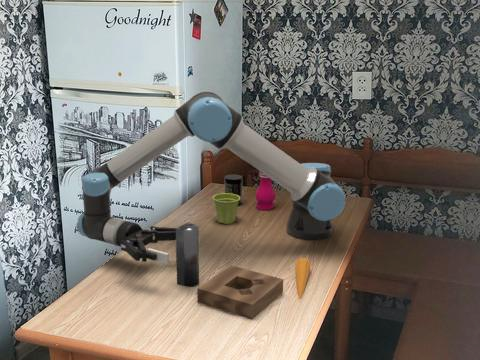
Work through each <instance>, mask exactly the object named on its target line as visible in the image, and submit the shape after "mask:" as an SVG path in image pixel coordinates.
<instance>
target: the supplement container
mask: <svg viewBox="0 0 480 360" xmlns="http://www.w3.org/2000/svg"><path fill="white" fill-rule="evenodd" d="M223 178H224V192H223V193H230V194H236V195H238V196H240V200H239V203H238V206H241V205H242V204H243V175H239V174H233V173H232V174H226V175H225V176H224V177H223Z"/></svg>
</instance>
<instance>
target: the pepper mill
mask: <svg viewBox="0 0 480 360" xmlns="http://www.w3.org/2000/svg"><path fill="white" fill-rule="evenodd" d="M258 176H259V178H260V181H259V182H260V183H259V186H258V188H257V190H256V192H255V199H256V200H257V202H256V209H258V210H260V211H270V210H273V209H274V207H275V206H274V205H275V204H274V200H276V192H275V190H274V187H273V184H272V179H271V178H269V177H268V176H266V175H265V174H263V173H262V172H260V171H259V172H258Z"/></svg>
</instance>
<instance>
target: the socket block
mask: <svg viewBox="0 0 480 360" xmlns="http://www.w3.org/2000/svg"><path fill="white" fill-rule="evenodd" d="M196 290H197V291H196V292H197V293H196V296H197V297H196V300H197V303H198V304H200V305H204V306H207V307H211V308H214V309H217V310H219V311H224V312H225V313H230V314H232V315H236V316H239V317H243V318H244V319H245V318H246V319H248V320H252V321H253V320H254V319H255V318H257V316H258V315H260V314H261V313H262V312H264V310H265V309H266V308H268V307H269V306H271V304H273V302H275V301H276V300H277V299H278V298H279V297H280V296H282V295H283V294H284V279H283V278H280V277H276V276H273V275H269V274H265V273H261V272H257V271H254V270H250V269H247V268H244V267H243V268H242V267H239V266H235V265H229V266H227V267H226V268H224V269H223V270H222V271H220V272H218V273H217V274H216V275H214V276H213V277H212V278H210V279H209V280H207V281H205V282H204V283H203V284H201V285H200V286H198V287H197V288H196ZM282 293H283V294H282Z"/></svg>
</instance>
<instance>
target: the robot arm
mask: <svg viewBox="0 0 480 360" xmlns="http://www.w3.org/2000/svg"><path fill="white" fill-rule="evenodd" d="M194 136H195V137H196V138H197V139H200V140H202V141H204V142H207V143H210V144H211V145H212V146H214V147H215V148H217V149H218V150H224V149H228V150H229V151H230V152H232V153H233V154H234V155H236V156H238V158H240V159H242V160H243V161H244V162H246V163H248V164H249V165H251V166H252V167H254V168H255V169H257V171H259V172H262V173H263V174H265V175H266V176H268V177H269V178H271V181H273V182H275V183H276V184H278V185H279V186H281V187H282V188H284V189H285V190H286V191H288V192H289V194H290V199H291V200H292V210H291V212H290V215H289V217H288V220H287V223H286V232H287V233H288V234H289V235H290V236H292V237H295V238H296V239H301V240H310V241H312V240H314V239H316V240H323V239H322V238H324V239H327V238H329V237H331V236H332V235H333V233H332V232H333V230H334V228H333V223H332V221H333V220H335V219H336V218H338V216H340V214H341V213H342V212H343V210H344V209H345V206H346V202H347V201H346V200H347V199H346V194H345V193H344V191H343V188H342V186H340V185H339V184H338V183H337V182H336V181H335V180H334V179H332V177H331V174H332V170H331V169H332V168H331V165H329V164H327V163H322V162H321V163H319V162H305V163H304V162H303V163H300V162H299V161H297V160H295V159H294V158H292V156H290V155H288V154H287V153H285V152H284V151H283V150H281V149H280V148H279V147H277V146H276V145H274V144H273V143H272V142H270V141H269V140H268V139H266V138H265V137H263V136H262V135H260V134H259V133H257V131H255V130H254V129H252V128H251V127H249V126H248V125H246V124H245V122H244V117H243V115H242V114H240V113H239V112H237V110H235V109H234V108H232V107H230V106H229V105H228V104H227V103H225V102H224V100H223V99H222V97H221V96H219V95H218V94H217V93H214V92H211V91H202V92H201V91H200V92H198V93H196V94H194V95H193V96H192V97H191V98H189V99H188V100H187V101H186V102H184V103H183V104H182V105H180V106H179V107H178V108H177V109H175V110H174V112H173V115H172V116H171V117H170V118H168V119H167V120H165V121H164V122H163V123H161V124H159V125H158V126H157V127H155V128H154V129H152V130H151V131H150V132H148V133H147V134H145V135H144V136H142V137H141V138H140V139H138V140H137V141H135V142H134V143H132V144H131V145H129V146H128V147H127V148H125V149H123V150H122V151H121V152H119V153H118V154H117V155H115V156H114V157H112V158H111V159H110V160H109V159H108V161H106V162H105V163H104V164H102V165H100V166H99V165H98V166H96V167H94V168H93V169H92V170H91V172H89V173H87V174H85V175H84V176H82V179H81V184H82V185H81V190H82V199H83V200H82V201H83V212H82V213H81V214H79V216H78V218H77V222H76V229H77V232H78V233H79V234H80V235H81V236H83V237H86V238H88V239H90V240H95V241H100V242H104V243H106V244H110V245H112V246H113V245H114V246H115V247H120V250H121V251H123V252H126V253H127V254H128V255H129V256H130V257H131V258H132V259H133V260H134V261H136V262H140V261H142V262H143V263H146V262H147V261H148V260H151V261H154V262H158V263H161V264H165V265H169V264H170V253H167V252H164V251H161V250H157V249H153V248H151V247H149V248H146V247H147V246H148V245H149V244H157V243H158V242H166V241H168V242H170V241H176V228H177V227H165V226H163V227H162V226H161V227H160V226H159V227H158V226H156V225H155V226H152V225H150V227H149V229H143V228H142V227H141V225H140V224H139V223H135V222H132V221H128V220H124V219H121V218H117V217H113V216H112V215H111V213H112V212H111V209H112V208H111V192H112V190H113V189H114V188H116V187H117V186H118V185H120V184H121V183H122V182H123V181H125V180H126V179H128V178H130V176H132V175H134V174H135V173H137V172H138V171H140V170H141V169H142V168H143V167H145V166H148V164H149V163H152V161H154V160H155V159H157V158H158V157H160V156H162V154H164V153H166V152H167V151H169V150H170V149H172V148H173V147H174V146H176V145H177V144H178V143H180V142H182V141H183V140H184V139H186V138H187V137H194ZM331 234H332V235H331ZM330 235H331V236H330ZM328 236H329V237H328ZM326 237H327V238H326ZM314 241H315V240H314ZM199 247H200V243H199Z"/></svg>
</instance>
